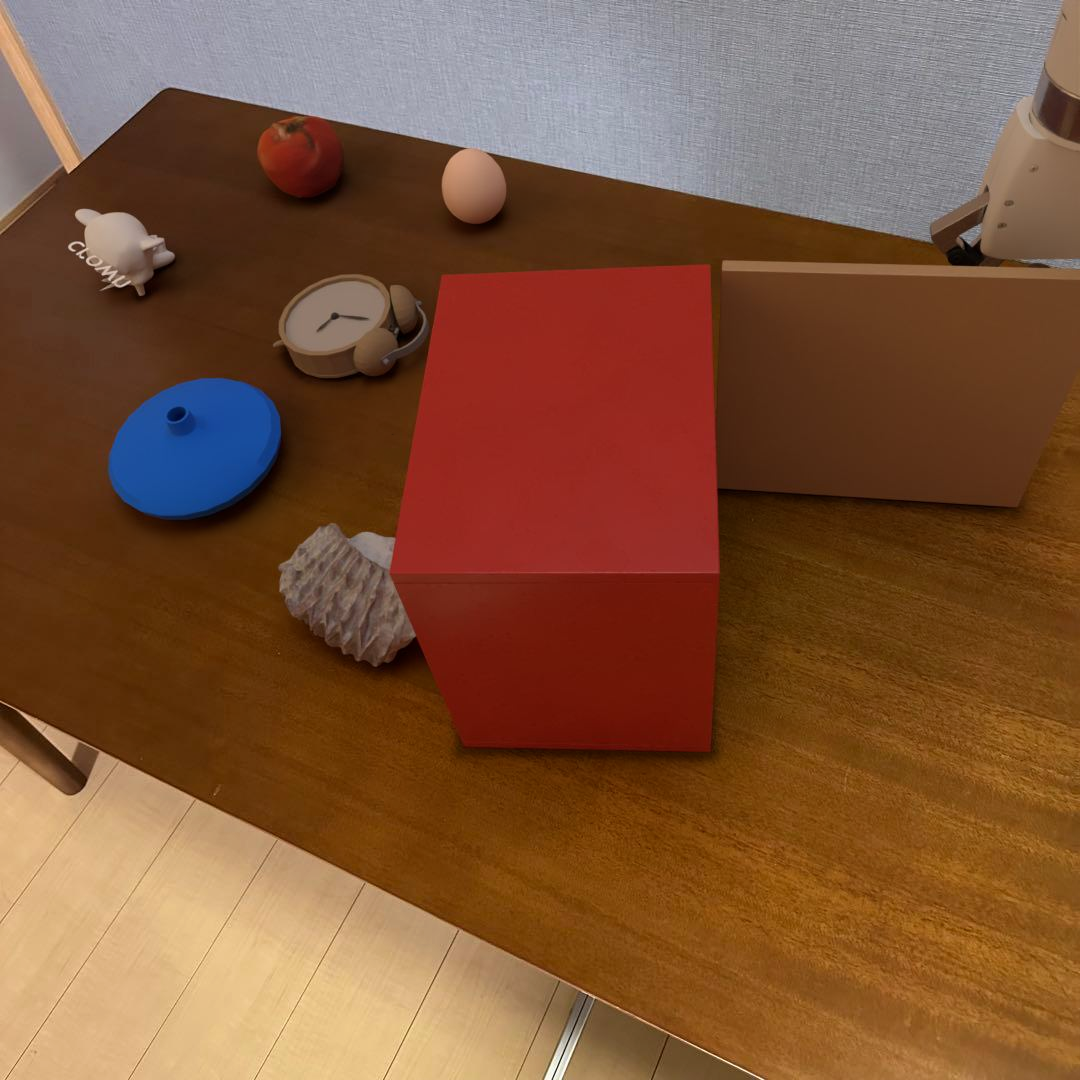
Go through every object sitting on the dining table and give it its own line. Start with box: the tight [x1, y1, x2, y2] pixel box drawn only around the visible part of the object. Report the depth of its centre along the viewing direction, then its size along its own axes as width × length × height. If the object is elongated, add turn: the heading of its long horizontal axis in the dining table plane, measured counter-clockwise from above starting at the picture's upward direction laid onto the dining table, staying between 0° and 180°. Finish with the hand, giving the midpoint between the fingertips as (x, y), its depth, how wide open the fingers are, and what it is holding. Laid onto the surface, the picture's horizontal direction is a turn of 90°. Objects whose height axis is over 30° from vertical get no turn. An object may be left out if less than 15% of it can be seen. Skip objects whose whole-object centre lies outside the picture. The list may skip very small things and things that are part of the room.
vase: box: [107, 377, 282, 521], centre depth 93 cm, size 16×16×7 cm
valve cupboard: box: [389, 263, 721, 753], centre depth 73 cm, size 18×24×24 cm
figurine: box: [67, 208, 176, 297], centre depth 109 cm, size 12×8×10 cm
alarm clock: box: [272, 273, 430, 379], centre depth 101 cm, size 11×5×15 cm
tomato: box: [257, 115, 345, 199], centre depth 115 cm, size 9×9×8 cm
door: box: [715, 259, 1080, 508], centre depth 78 cm, size 8×24×24 cm, turn 81°
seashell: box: [277, 522, 417, 667], centre depth 82 cm, size 14×9×10 cm
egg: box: [441, 147, 507, 225], centre depth 108 cm, size 7×7×8 cm
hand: (1024, 311), depth 77 cm, fingers open, 7 cm apart
